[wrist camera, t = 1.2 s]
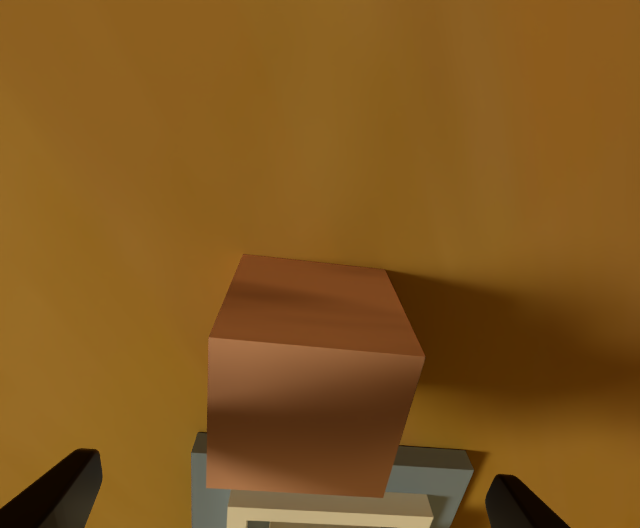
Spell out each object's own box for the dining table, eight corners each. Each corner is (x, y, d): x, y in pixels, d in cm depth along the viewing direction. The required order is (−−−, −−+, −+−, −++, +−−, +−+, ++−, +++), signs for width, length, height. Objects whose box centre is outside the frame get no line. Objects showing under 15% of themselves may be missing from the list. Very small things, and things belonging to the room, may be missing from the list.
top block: (360, 378, 15) (383, 497, 11) (237, 368, 15) (205, 487, 10) (384, 268, 13) (426, 357, 9) (243, 253, 13) (208, 337, 8)
